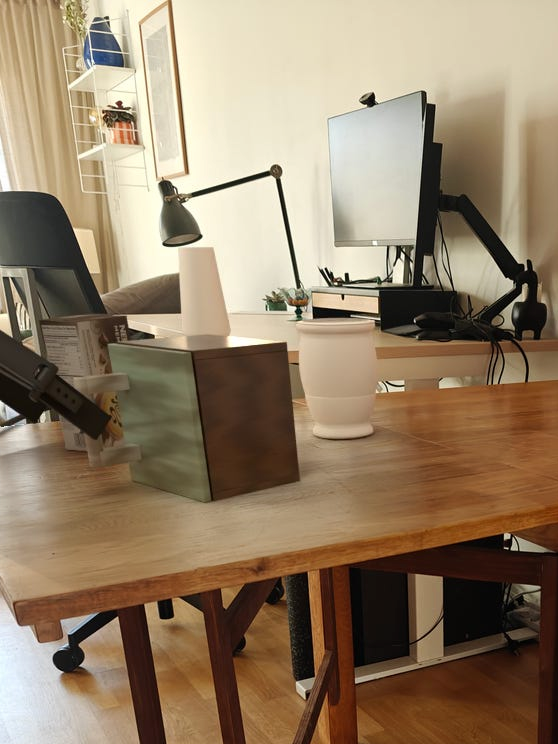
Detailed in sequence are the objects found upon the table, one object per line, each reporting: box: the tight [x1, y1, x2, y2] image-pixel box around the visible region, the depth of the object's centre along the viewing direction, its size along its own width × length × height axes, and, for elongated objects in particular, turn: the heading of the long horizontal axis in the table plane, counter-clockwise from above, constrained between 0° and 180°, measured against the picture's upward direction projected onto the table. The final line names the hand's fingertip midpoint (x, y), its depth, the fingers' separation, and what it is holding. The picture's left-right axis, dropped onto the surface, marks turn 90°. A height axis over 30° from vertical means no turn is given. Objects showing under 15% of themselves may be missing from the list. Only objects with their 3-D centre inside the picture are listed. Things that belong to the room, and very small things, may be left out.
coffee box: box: [38, 313, 132, 452], centre depth 112 cm, size 9×6×16 cm
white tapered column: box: [177, 246, 232, 336], centre depth 125 cm, size 7×7×24 cm
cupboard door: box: [73, 344, 212, 503], centre depth 87 cm, size 6×15×14 cm, turn 49°
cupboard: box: [117, 334, 301, 502], centre depth 93 cm, size 11×15×15 cm
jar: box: [295, 317, 379, 440], centre depth 118 cm, size 11×10×15 cm
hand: (70, 420), depth 87 cm, fingers open, 13 cm apart
